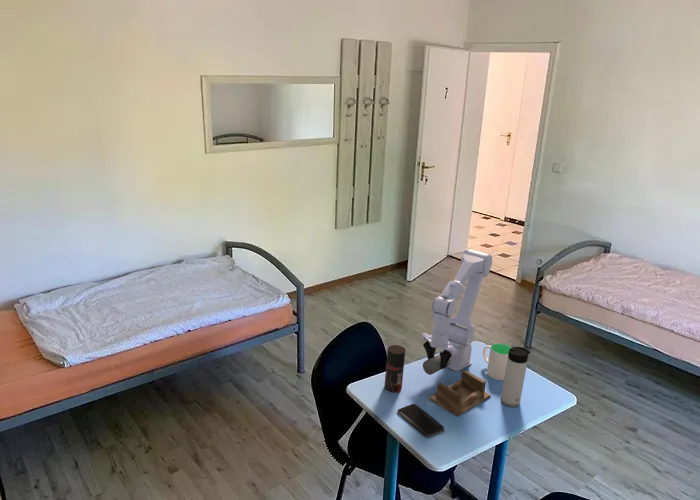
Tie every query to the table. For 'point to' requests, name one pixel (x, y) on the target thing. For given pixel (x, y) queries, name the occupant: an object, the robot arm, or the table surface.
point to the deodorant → (394, 368)
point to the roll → (433, 365)
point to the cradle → (461, 394)
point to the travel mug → (514, 376)
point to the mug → (497, 360)
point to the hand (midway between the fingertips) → (436, 364)
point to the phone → (420, 420)
